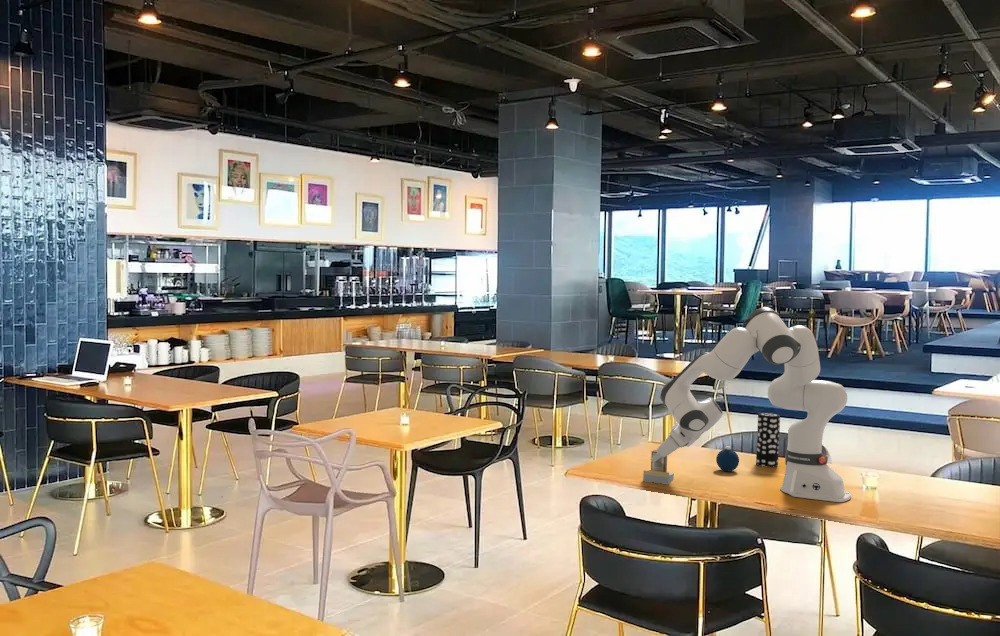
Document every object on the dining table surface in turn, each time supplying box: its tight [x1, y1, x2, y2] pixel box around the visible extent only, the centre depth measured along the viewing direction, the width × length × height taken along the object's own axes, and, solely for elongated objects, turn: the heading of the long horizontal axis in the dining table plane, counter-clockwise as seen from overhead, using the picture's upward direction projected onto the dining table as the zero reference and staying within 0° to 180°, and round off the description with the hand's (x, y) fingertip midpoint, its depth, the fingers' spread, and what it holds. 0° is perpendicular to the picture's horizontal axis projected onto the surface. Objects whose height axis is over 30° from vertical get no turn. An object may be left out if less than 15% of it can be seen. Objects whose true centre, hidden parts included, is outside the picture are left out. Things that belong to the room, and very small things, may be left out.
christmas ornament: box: [715, 445, 740, 472], centre depth 319 cm, size 8×8×10 cm
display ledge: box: [642, 469, 675, 485], centre depth 300 cm, size 9×8×4 cm
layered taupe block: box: [650, 449, 668, 472], centre depth 300 cm, size 5×3×8 cm, turn 66°
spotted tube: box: [755, 412, 781, 468], centre depth 332 cm, size 8×8×20 cm
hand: (655, 458), depth 300 cm, fingers open, 8 cm apart
